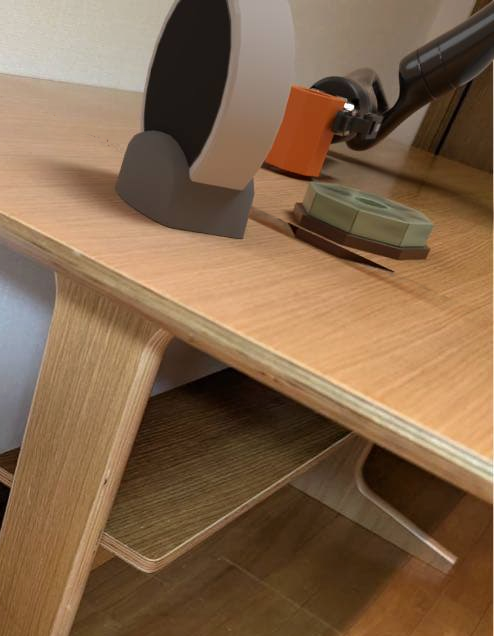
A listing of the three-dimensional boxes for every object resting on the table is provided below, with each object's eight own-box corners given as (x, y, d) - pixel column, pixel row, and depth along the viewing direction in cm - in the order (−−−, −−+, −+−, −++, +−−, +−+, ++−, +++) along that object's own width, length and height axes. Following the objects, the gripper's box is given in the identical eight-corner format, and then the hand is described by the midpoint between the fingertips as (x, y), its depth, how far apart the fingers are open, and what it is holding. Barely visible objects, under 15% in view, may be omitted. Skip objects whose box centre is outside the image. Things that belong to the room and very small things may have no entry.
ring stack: (337, 224, 83) (353, 183, 81) (439, 269, 76) (459, 226, 74) (265, 223, 75) (281, 178, 73) (371, 273, 69) (391, 225, 67)
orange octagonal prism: (286, 160, 100) (310, 88, 95) (327, 177, 96) (355, 103, 92) (253, 157, 96) (278, 81, 91) (295, 174, 92) (322, 96, 88)
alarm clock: (95, 174, 76) (148, -65, 65) (192, 191, 79) (256, -32, 69) (158, 231, 64) (236, -50, 53) (269, 249, 67) (361, -11, 57)
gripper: (378, 159, 104) (352, 167, 91) (274, 126, 108) (235, 129, 95) (404, 94, 100) (380, 93, 87) (295, 62, 104) (257, 56, 91)
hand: (305, 112), depth 91 cm, fingers closed on orange octagonal prism, 7 cm apart
